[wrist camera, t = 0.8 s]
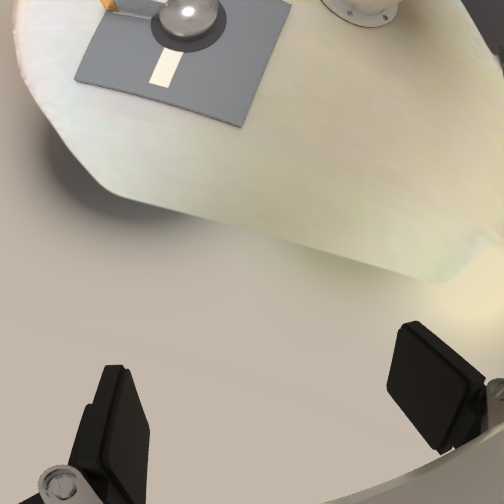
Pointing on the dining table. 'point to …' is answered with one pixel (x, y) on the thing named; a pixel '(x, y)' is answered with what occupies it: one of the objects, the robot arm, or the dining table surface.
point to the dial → (173, 15)
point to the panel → (188, 58)
